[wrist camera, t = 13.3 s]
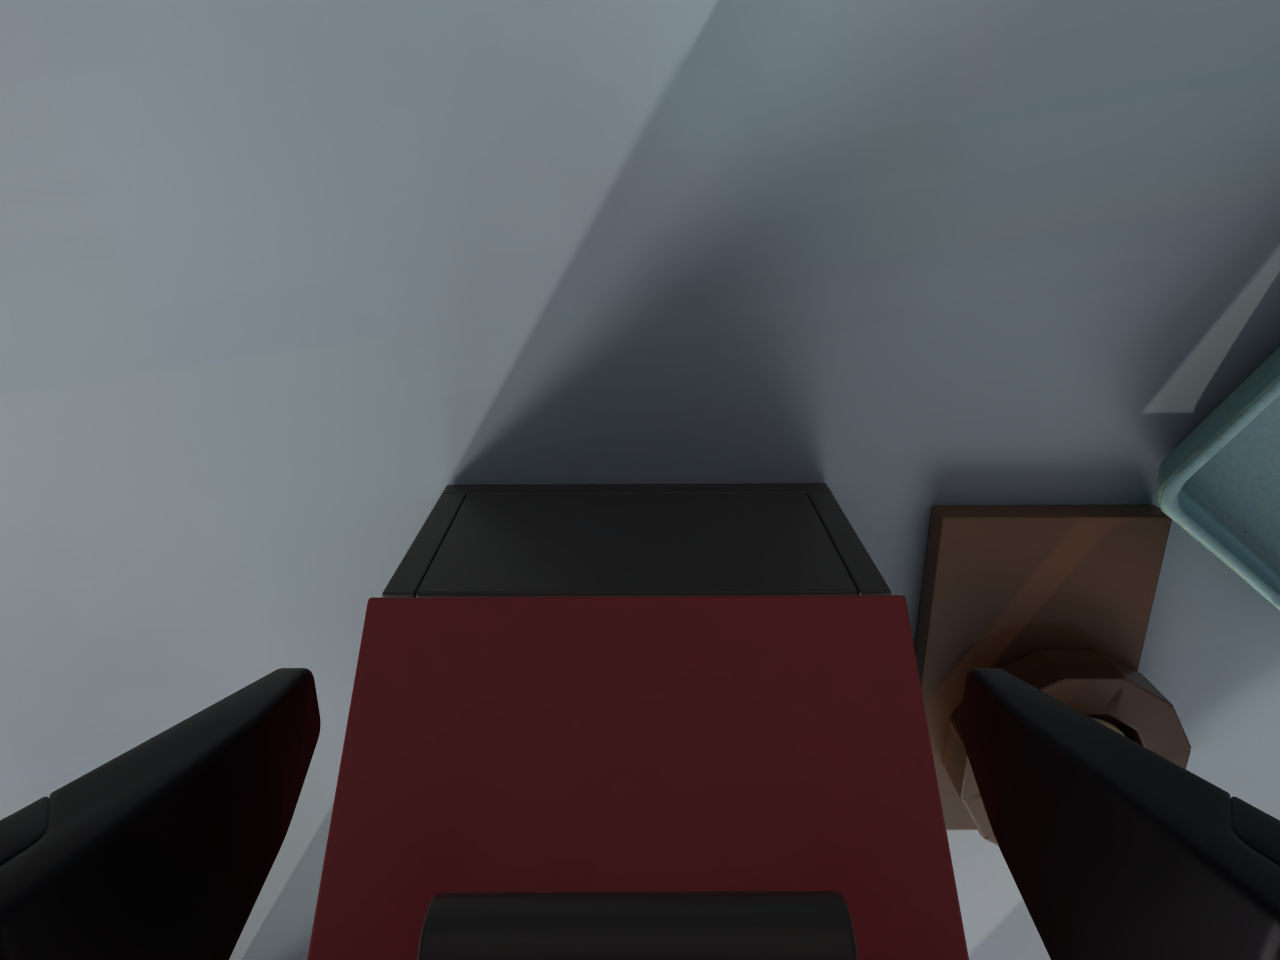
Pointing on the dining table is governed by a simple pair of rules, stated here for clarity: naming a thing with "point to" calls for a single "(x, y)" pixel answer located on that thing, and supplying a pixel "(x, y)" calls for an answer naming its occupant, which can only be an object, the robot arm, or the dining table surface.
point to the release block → (1040, 624)
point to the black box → (636, 543)
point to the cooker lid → (637, 784)
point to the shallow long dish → (1233, 481)
